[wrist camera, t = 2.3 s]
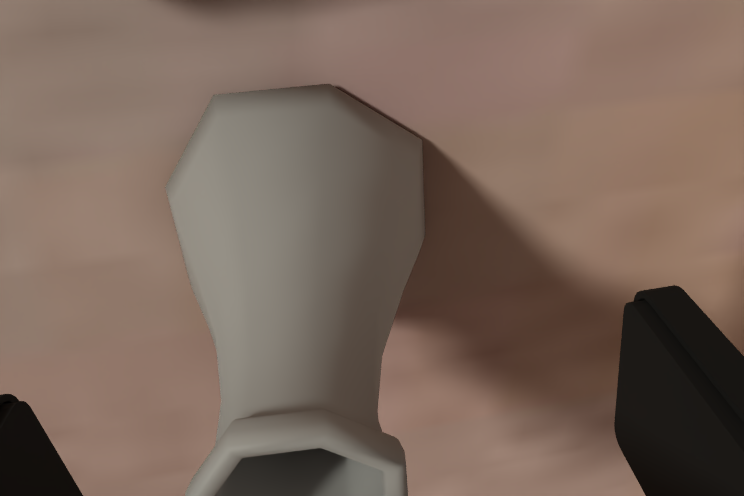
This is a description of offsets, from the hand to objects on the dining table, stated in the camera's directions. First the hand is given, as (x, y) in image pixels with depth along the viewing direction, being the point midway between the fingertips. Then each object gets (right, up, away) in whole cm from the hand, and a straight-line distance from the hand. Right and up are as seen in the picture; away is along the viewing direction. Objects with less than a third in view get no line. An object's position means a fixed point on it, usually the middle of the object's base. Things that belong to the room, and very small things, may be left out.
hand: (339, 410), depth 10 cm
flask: (-1, +4, +8) cm, 9 cm away
